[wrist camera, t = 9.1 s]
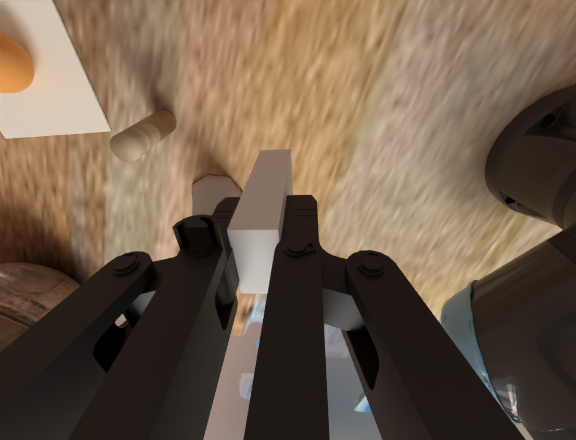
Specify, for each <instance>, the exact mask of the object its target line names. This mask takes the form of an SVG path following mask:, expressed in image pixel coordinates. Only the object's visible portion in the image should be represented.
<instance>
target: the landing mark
mask: <svg viewBox="0 0 576 440" xmlns="http://www.w3.org/2000/svg"><path fill="white" fill-rule="evenodd" d="M0 32H1V33H3V34H5V35H7V36H8V37H10V38H11V39H13V40H14V41H16V42H17V43H18V44H19V45H20V46H21V47H22V48H23V49H24V50H25V51H26V52H27V54H28V55H29V57H30V58H31V60H32V63H33V65H34V70H35V75H34V79H33V82H32V83H31V85H30V86H29V87H28V88H26V89H25V90H23V91H20V92H17V93H0V131H1V133H2V134H3V136H4V137H5V138H6V139H7V138H21V137H35V136H50V135H64V134H79V133H93V132H107V131H112V130H111V127H110V125H109V123H108V121H107V119H106V116H105V114H104V112H103V110H102V107H101V105H100V103H99V101H98V98H97V96H96V94H95V92H94V90H93V87H92V85H91V83H90V81H89V78H88V76H87V74H86V72H85V70H84V67H83V65H82V63H81V61H80V58H79V56H78V54H77V52H76V50H75V47H74V45H73V43H72V41H71V38H70V36H69V34H68V32H67V30H66V27H65V25H64V23H63V21H62V18H61V16H60V14H59V12H58V10H57V7H56V5H55V3H54V1H53V0H0Z"/></svg>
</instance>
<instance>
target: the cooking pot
mask: <svg viewBox="0 0 576 440" xmlns="http://www.w3.org/2000/svg"><path fill="white" fill-rule="evenodd" d="M79 286H80V285H79V284H78V283H77V282H76V281H75V280H74V279H73V278H72V277H71V276H69V275H68V274H66V273H64V272H62V271H60V270H57V269H53V268H50V267H46V266H42V265H38V264H33V263H25V262H6V263H0V352H1V351H2V350H3V349H5V348H6V347H7V346H8V345H9V344H11V343H12V342H13V341H14V340H15V339H17V338H18V337H19V336H20V335H21V334H23V333H24V332H25V331H26V330H27V329H29V328H30V327H31V326H32V325H34V324H35V323H36V322H37V321H38V320H40V319H41V318H42V317H43V316H44V315H46V314H47V313H48V312H49V311H50V310H52V309H53V308H54V307H55V306H57V305H58V304H59V303H60V302H61V301H63V300H64V299H65V298H66V297H67V296H69V295H70V294H71V293H72V292H73V291H75V290H76V289H77V288H78V287H79Z"/></svg>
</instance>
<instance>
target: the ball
mask: <svg viewBox="0 0 576 440" xmlns="http://www.w3.org/2000/svg"><path fill="white" fill-rule="evenodd" d="M34 75H35V70H34V65H33V63H32V60H31V58H30V57H29V55H28V54H27V52H26V51H25V50H24V49H23V48H22V47H21V46H20V45H19V44H18V43H17V42H16V41H14V40H13V39H11V38H10V37H8V36H7V35H5V34H3V33H1V32H0V93H17V92H20V91H23V90H25V89H26V88H28V87H29V86H30V85H31V83H32V82H33V79H34Z"/></svg>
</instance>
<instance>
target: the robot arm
mask: <svg viewBox="0 0 576 440" xmlns="http://www.w3.org/2000/svg"><path fill="white" fill-rule="evenodd" d="M485 179H486V184H487V186H488V189H489V190H490V192H491V193H492V194H493V195H494V196H495V197H496V198H497V199H498V200H499V201H500V202H501V203H503V204H504V205H505V206H506V207H508V208H510V209H512V210H514V211H516V212H519V213H521V214H524V215H527V216H530V217H533V218H536V219H539V220H542V221H545V222H548V223H551V224H554V225H557V226H558V227H560V228H561V229H563V231H561V232H560V233H558V234H556V235H554V236H553V237H551V238H549V239H547V240H545V241H544V242H542V243H540V244H539V245H537V246H535V247H534V248H532V249H530V250H529V251H527V252H525V253H524V254H522V255H520V256H519V257H517V258H515V259H514V260H512V261H510V262H509V263H507V264H505V265H504V266H502V267H500V268H499V269H497V270H495V271H494V272H492V273H490V274H489V275H487V276H485V277H483V278H482V279H480V280H473V281H472V282H470V283H469V284H468V286H467V287H466V288H465V289H463V290H462V291H460V292H459V293H457V294H456V295H454V296H453V297H451V298H450V299H449V300H447V301H446V303H445V304H444V306H443V308H442V311H441V324H442V326H441V324H440V323H439V322H438V320H437V319H436V317H435V316H434V315H433V313H432V312H431V311H430V309H429V308H428V307H427V305H426V304H425V303H424V301H423V300H422V298H421V297H420V296H419V294H418V293H417V292H416V290H415V289H414V288H413V286H412V285H411V284H410V282H409V281H408V279H407V278H406V277H405V275H404V274H403V273H402V271H401V270H400V269H399V267H398V266H397V265H396V263H395V262H394V261H393V260H392V259H391V258H390V257H388V256H386V255H384V254H382V253H380V252H376V251H372V250H364V251H359V252H355V253H353V254H352V255H351V256H349V257H348V259H344V258H340V257H336V256H333V255H331V254H329V253H327V252H326V251H325V250H324V249H323V248H322V247H321V245H320V243H319V234H318V214H317V201H316V200H315V199H314V197H313V196H312V195H293V185H292V164H291V150H260V152H259V155H258V157H257V160H256V162H255V164H254V167H253V169H252V172H251V174H250V176H249V179H248V181H247V183H246V186H245V188H244V191H243V193H242V195H241V197H226V198H224V199H223V200H222V201H221V202H219V203H218V204H217V206H216V208H215V210H214V213H212V215H204V214H201V215H193V216H190V217H187V218H184V219H183V220H181V221H179V222H177V223H176V224H175V225H174V226H173V227H172V228H173V230H174V233H175V236H176V239H177V241H178V244H179V247H180V251H179V253H178V255H177V256H176V257H172V258H168V259H164V260H159V261H155V262H153V261H152V259H151V257H150V256H149V254H147V253H145V252H139V251H134V252H130V253H125V254H123V255H121V256H118V257H116V258H115V259H113V260H112V261H110V262H109V263H107V264H106V265H105V266H104V267H102V268H101V269H100V270H99V271H98V272H96V273H95V274H94V275H93V276H92V277H90V278H89V279H88V280H87V281H86V282H84V283H83V284H82V285H81V286H79V287H78V288H77V289H76V290H75V291H73V292H72V293H71V294H70V295H69V296H67V297H66V298H65V299H64V300H63V301H61V302H60V303H59V304H58V305H57V306H55V307H54V308H53V309H52V310H50V311H49V312H48V313H47V314H46V315H44V316H43V317H42V318H41V319H40V320H38V321H37V322H36V323H35V324H34V325H32V326H31V327H30V328H29V329H27V330H26V331H25V332H24V333H23V334H21V335H20V336H19V337H18V338H17V339H15V340H14V341H13V342H12V343H11V344H9V345H8V346H7V347H6V348H5V349H3V350H2V351H1V352H0V440H203V438H204V434H205V430H206V426H207V423H208V419H209V415H210V411H211V407H212V404H213V399H214V396H215V392H216V388H217V384H218V380H219V377H220V372H221V369H222V365H223V361H224V357H225V353H226V349H227V345H228V341H229V338H230V334H231V330H232V326H233V322H234V318H235V315H236V311H237V307H238V300H237V296H236V291H237V288H238V284H239V286H240V290H241V293H256V294H267V299H266V305H265V311H264V318H263V324H262V330H261V336H260V342H259V348H258V354H257V361H256V367H255V373H254V379H253V385H252V391H251V397H250V403H249V410H248V416H247V422H246V428H245V434H244V440H329V421H328V420H329V419H328V402H327V401H328V400H327V379H326V358H325V338H324V323H325V324H328V325H331V326H334V327H337V328H340V329H341V331H342V334H343V337H344V339H345V342H346V345H347V347H348V350H349V353H350V355H351V358H352V361H353V363H354V366H355V368H356V371H357V374H358V376H359V379H360V382H361V384H362V387H363V390H364V392H365V395H366V397H367V400H368V403H369V405H370V408H371V411H372V413H373V416H374V418H375V421H376V424H377V426H378V429H379V432H380V434H381V437H382V439H383V440H525V438H524V437H523V436H522V434H521V433H520V432H519V430H518V429H517V427H516V426H515V425H516V424H519V423H522V424H523V426H524V427H525V428H526V430H527V431H528V432H529V434H530V435H531V437H532V438H533V439H534V440H576V85H573V86H570V87H567V88H564V89H561V90H559V91H557V92H554V93H552V94H550V95H548V96H546V97H544V98H543V99H541V100H539V101H538V102H536V103H534V104H533V105H531V106H530V107H529V108H527V109H526V110H525V111H523V112H522V113H521V114H520V115H519V116H518V117H516V118H515V119H514V120H513V121H512V122H511V123H510V124H509V125H508V126H507V128H506V129H505V130H504V131H503V132H502V134H501V135H500V136H499V138H498V139H497V141H496V142H495V144H494V146H493V148H492V150H491V152H490V154H489V156H488V160H487V163H486V169H485ZM122 314H123V315H124V317H125V318H126V321H125V322H124V323H123V324H122V325H120V326H117V325H116V324H115V321H116V320H117V319H118V318H119V317H120V316H121V315H122Z"/></svg>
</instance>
